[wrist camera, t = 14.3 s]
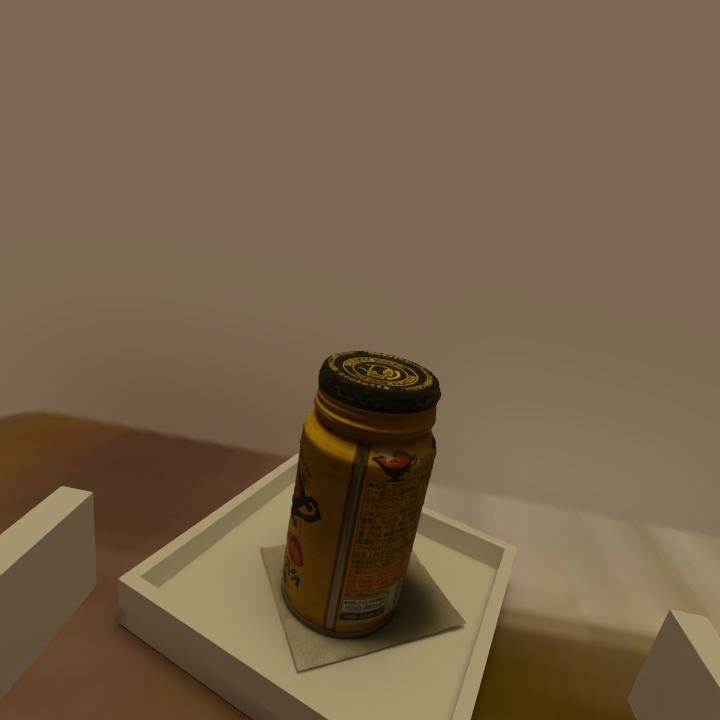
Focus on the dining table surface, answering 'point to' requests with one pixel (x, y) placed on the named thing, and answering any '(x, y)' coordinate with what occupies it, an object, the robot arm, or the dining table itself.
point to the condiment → (360, 514)
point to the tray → (266, 631)
